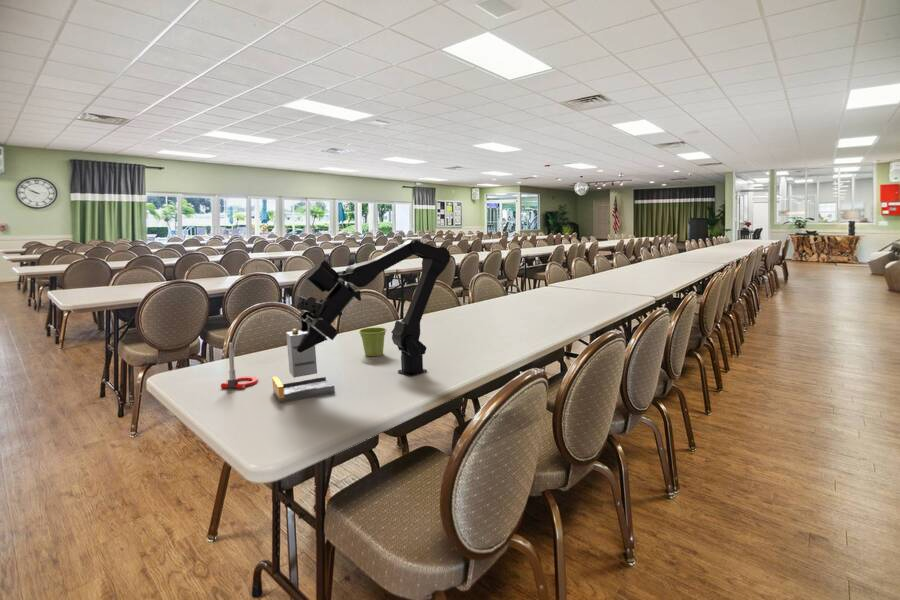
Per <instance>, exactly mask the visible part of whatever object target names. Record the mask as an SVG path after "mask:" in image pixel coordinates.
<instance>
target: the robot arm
mask: <svg viewBox="0 0 900 600" xmlns="http://www.w3.org/2000/svg"><path fill="white" fill-rule="evenodd" d="M411 256H415V257H418V258H420V259H421V260H422V261H421V267H422V268H421V271H422V272H421V274H420V278H419V279H418V282H417V285H416V287H415V289H414V293H413V295H412V298H411V300H410V304H409V306H408V309H407V312H406V314H405V316H404V317H403V318H402V319H401V321H400V320H396V321H395V323H394V328H393V329H392V330H391V331H390V332H391V334H392V335H391V340H392V342H393V344H394V345H396V346H397V348H398V351H401V352H400V353H401V354H400V355H401V356H400V360H401V361H400V363H401V367H400V368H401V369H399V370H397V373H399V374H403V375H405V376H408V377H414V376H417V375H421V374H424V373H427V372H428V369H425V368H424V360H423V355H425V354H426V351H427V346H426V345H425V344H423V343H422V342H421V340H420V337H421V321H422V319H423V316H424V313H425V311H426V308H427V305H428V303H429V300H430V297H431V295H432V292H433V289H434V288H435V284H436V282H437V279H438V277H439V276H440V275H442V273H443V272H444V271H445V270H446V269H447V266H448V264H449V263H450V260H451V253H450V251H449V249H448V248H447V247H445V246H435V245H434V246H433V245H432V244H431V245H430V244H428V243H424V242H422V241H419V240H418V239H407V240H406V241H405V242H403V243H402V244H400V245H398V246H396V247H394V248H392V249H390V250H388V251H386V252H384V253H383V254H380V255H379V256H377V257H375V258H372V259H370V260H366V261H362V262H358V263H355V264H351V265H349V266H348V267H347V268H346V269H345V270H342V271H339V270H338V271H336V270H335V269H334V268H333V267H331V266H330V264H329V263H328V262H327V261H325V260H322V259H321V261H319V262H318V263H317V264H316V265H314V266H313V267H311V268H310V269H309V271H308V272H307V273H306V275H305V280H306V281H307V282H309V283H310V284H311V285H312V286H313V287H314V288H316V289H317V290H318V291H320V292H321V293H324V292H326V293H327V295H326V296H325V297H324V298H320V299H319V300H318V301H317V299H316V298H315V297H313V296H310V295H308V296H307V297H305V296H302V295H297V296H296V299H295V302H294V304H293V307H294V308H295V309H298V310H299V311H301V312H300V313H299V314H298V317H299V322H300V329H299V330H306V329H308V333H307V334H306V336H305V338H304V339H303V341H302V342H301V344H300V346H299V347H298V349H297V351H298V352H300V353H301V352H303V351H305V350H307V349H309V348H311V347H313V346H315V347H316V346H317V345H319V344H320V343H323V342H324V341H329V340H328V339H330V340H331V341H333V340H334V339H335V338H336V337H337V335H338V329H336V327H334V326H333V325H332V324H333V323H334V321H335V320H336V319H337V318H338V317H341V316H342V315H343V313H342V312H343V311H344V310H345V308H346V307H347V306H348V305H349V303H350V302H351V301H352V300H353V299H354V300H356V301H359V302H360V301H362V296H361V293H362V292H361V290H358V289H357V290H355V289H354V288H353V287H358V288H363V287H366V286H367V285H369V284H370V283H371V282H373V281H374V280H376V278H377V277H378V276H379V275H380V274H381V273H382V272H384V271H386V270H388V269H389V268H392V267H393V266H395V265H397V264H398V263H400V262H403V261H404V260H406V259H407V258H410V257H411ZM341 281H342V282H346V283H348V284H345V285H344V284H343V283H342V282H341ZM352 286H353V287H352Z"/></svg>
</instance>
